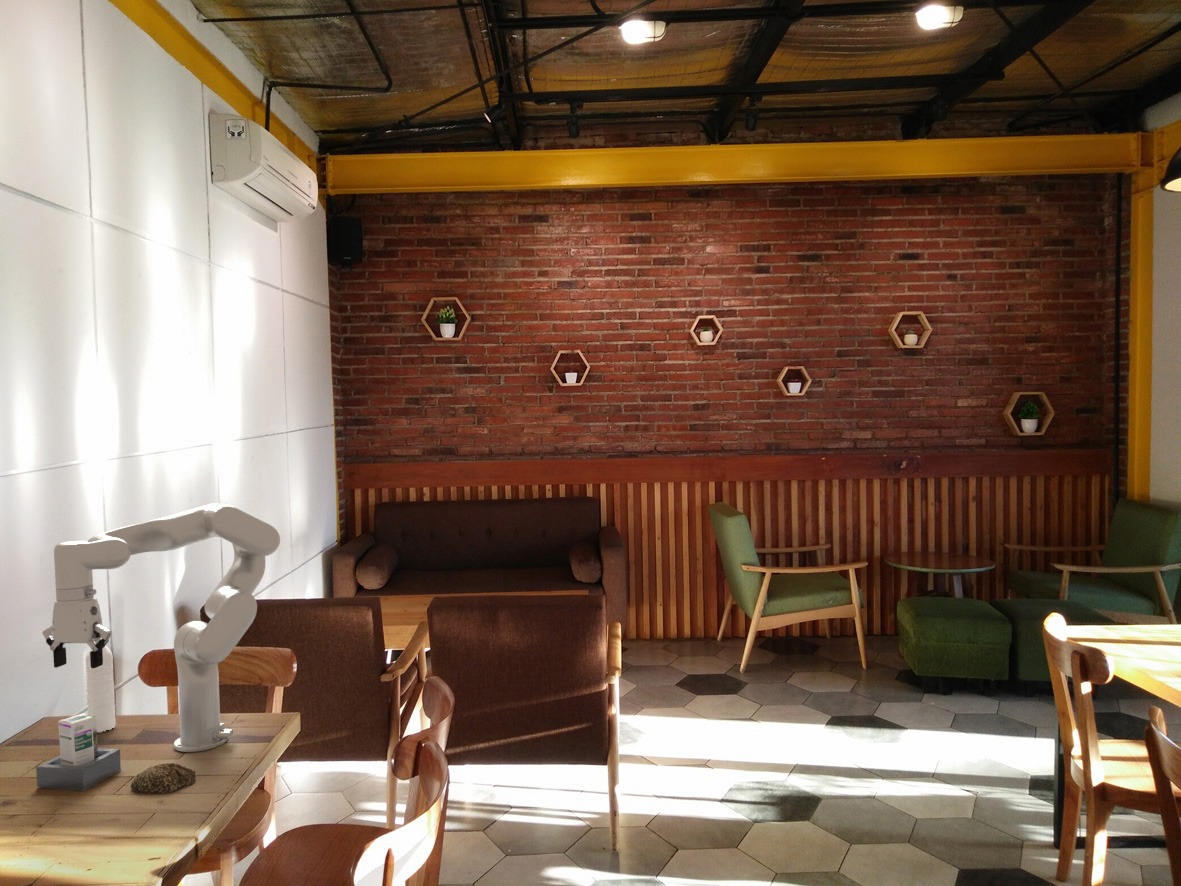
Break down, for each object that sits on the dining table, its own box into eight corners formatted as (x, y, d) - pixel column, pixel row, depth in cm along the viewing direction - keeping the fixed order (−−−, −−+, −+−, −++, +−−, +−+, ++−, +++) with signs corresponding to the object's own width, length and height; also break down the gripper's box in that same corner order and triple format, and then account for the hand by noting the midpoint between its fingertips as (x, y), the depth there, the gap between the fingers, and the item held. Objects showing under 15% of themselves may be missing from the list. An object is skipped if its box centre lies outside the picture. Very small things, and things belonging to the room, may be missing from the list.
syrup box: (75, 785, 200) (72, 723, 200) (60, 780, 203) (58, 719, 203) (99, 776, 205) (97, 715, 205) (85, 771, 208) (82, 711, 208)
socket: (120, 769, 209) (119, 749, 209) (83, 790, 197) (82, 769, 197) (76, 767, 211) (76, 747, 211) (37, 788, 199) (36, 766, 199)
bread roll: (122, 791, 197) (121, 770, 196) (166, 770, 208) (166, 750, 208) (165, 799, 192) (165, 777, 192) (208, 777, 204) (207, 756, 204)
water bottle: (89, 727, 239) (85, 637, 238) (116, 723, 242) (112, 634, 241) (87, 737, 231) (83, 644, 231) (114, 732, 234) (111, 641, 234)
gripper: (119, 590, 206) (122, 662, 206) (54, 590, 209) (58, 661, 209) (96, 597, 198) (99, 671, 199) (29, 597, 201) (33, 670, 202)
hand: (78, 666), depth 204 cm, fingers open, 9 cm apart
